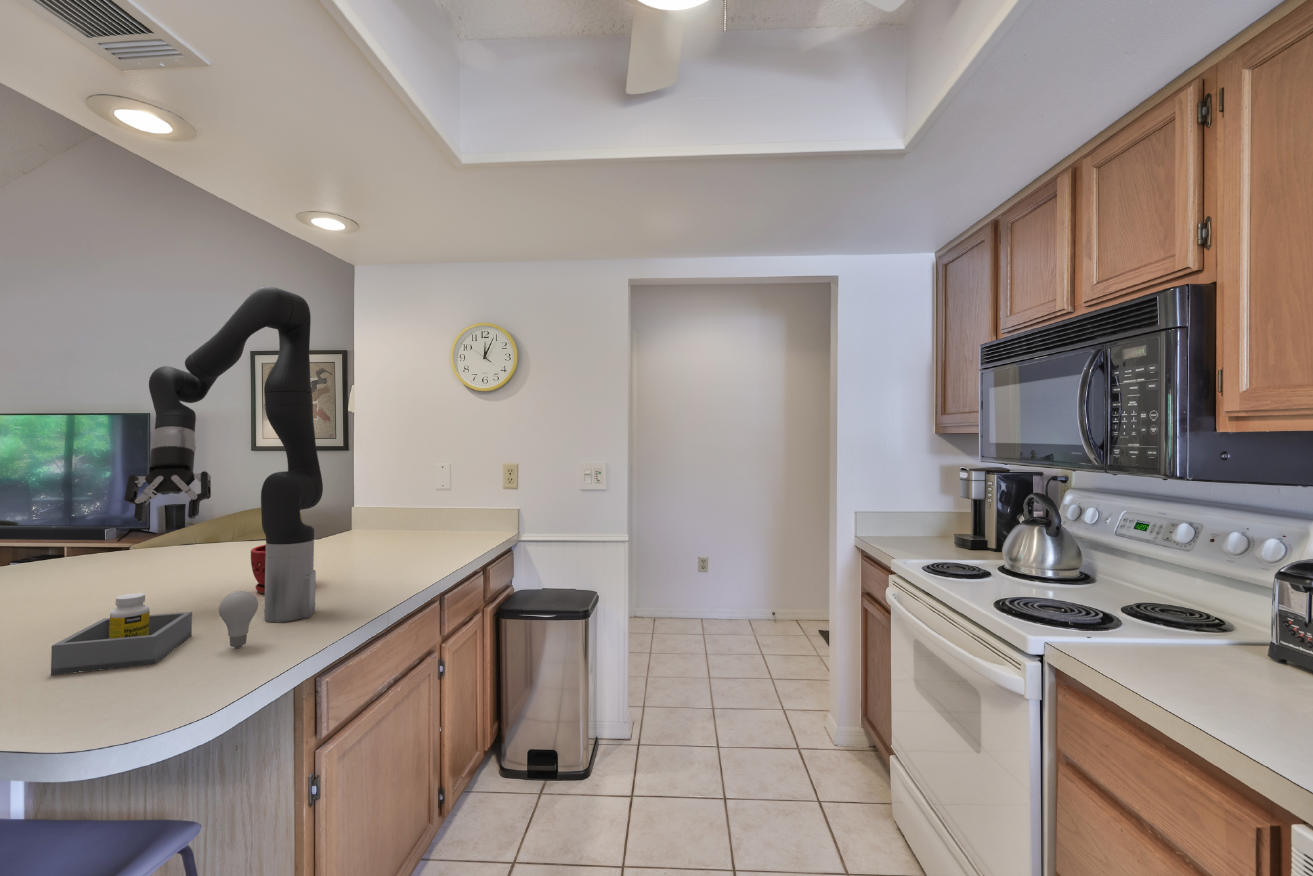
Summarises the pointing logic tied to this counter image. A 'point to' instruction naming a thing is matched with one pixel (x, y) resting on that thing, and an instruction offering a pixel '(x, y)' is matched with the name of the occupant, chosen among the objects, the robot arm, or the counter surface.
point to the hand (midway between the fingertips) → (167, 519)
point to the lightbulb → (238, 615)
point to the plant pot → (259, 566)
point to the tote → (120, 645)
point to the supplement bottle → (129, 617)
